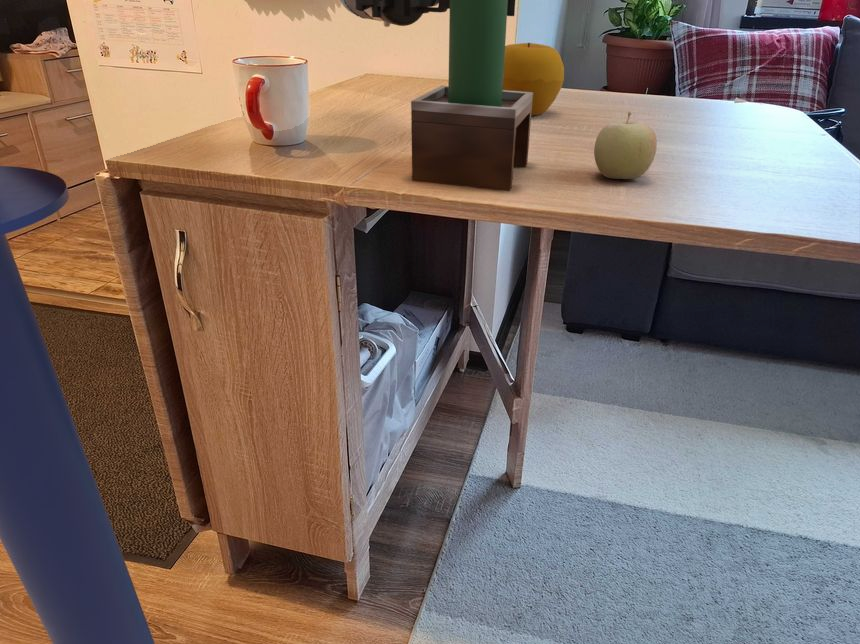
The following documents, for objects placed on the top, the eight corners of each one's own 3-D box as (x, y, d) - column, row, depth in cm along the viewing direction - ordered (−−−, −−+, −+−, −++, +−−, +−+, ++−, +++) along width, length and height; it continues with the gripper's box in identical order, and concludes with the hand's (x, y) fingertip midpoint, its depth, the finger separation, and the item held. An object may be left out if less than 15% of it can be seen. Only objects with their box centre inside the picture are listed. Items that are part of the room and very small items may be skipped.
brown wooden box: (411, 180, 76) (410, 100, 71) (440, 156, 86) (440, 85, 81) (510, 190, 73) (515, 109, 69) (527, 164, 83) (533, 92, 79)
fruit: (646, 189, 75) (659, 119, 71) (585, 181, 78) (594, 113, 74) (654, 173, 82) (666, 108, 77) (597, 166, 84) (606, 102, 80)
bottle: (437, 104, 75) (438, -74, 66) (472, 98, 79) (478, -70, 70) (477, 112, 71) (484, -75, 62) (512, 106, 76) (524, -70, 66)
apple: (485, 117, 109) (488, 44, 103) (492, 103, 120) (496, 37, 114) (560, 121, 108) (567, 48, 102) (560, 107, 119) (567, 40, 113)
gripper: (471, 23, 96) (548, 37, 80) (308, 24, 85) (359, 40, 69) (472, -35, 92) (555, -32, 76) (302, -41, 82) (355, -40, 66)
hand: (461, 2), depth 73 cm, fingers open, 13 cm apart
